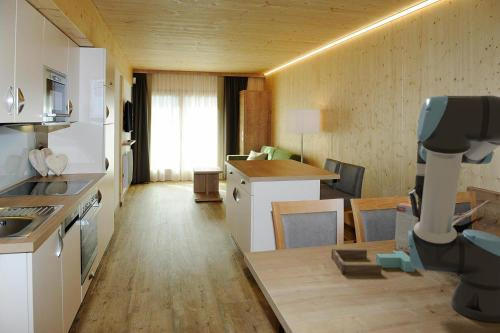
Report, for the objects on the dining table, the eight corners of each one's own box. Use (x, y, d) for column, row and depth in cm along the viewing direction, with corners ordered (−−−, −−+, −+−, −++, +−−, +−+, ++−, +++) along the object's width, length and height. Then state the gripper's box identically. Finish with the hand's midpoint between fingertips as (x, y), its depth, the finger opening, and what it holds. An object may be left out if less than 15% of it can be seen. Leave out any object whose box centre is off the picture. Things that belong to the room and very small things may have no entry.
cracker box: (432, 256, 162) (435, 207, 159) (424, 259, 158) (427, 209, 156) (401, 247, 173) (404, 201, 170) (393, 250, 169) (396, 203, 167)
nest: (381, 274, 142) (381, 265, 142) (342, 274, 142) (343, 265, 141) (365, 257, 160) (366, 249, 160) (331, 257, 160) (331, 249, 159)
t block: (414, 271, 145) (415, 261, 145) (383, 271, 145) (383, 261, 145) (401, 260, 157) (402, 250, 157) (372, 260, 157) (372, 250, 157)
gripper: (438, 173, 151) (434, 231, 154) (405, 173, 151) (401, 231, 154) (448, 176, 144) (444, 237, 147) (413, 176, 143) (410, 237, 147)
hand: (422, 234), depth 150 cm, fingers closed
